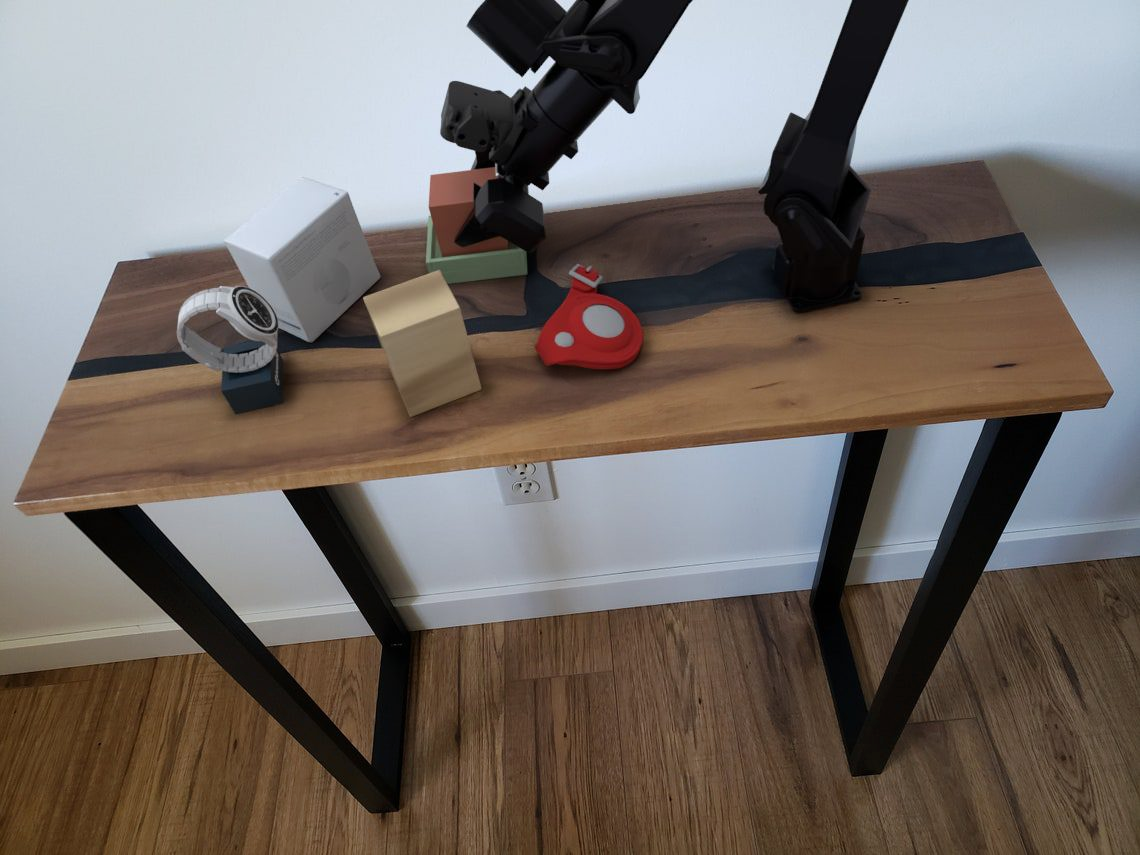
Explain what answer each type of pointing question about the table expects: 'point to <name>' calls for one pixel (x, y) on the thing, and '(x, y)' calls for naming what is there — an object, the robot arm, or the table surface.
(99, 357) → the table surface
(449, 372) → the block
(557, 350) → the tracker holder
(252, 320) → the watch
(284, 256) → the cosmetics box
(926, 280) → the table surface
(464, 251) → the reddish brown rectangular block
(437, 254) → the tray
